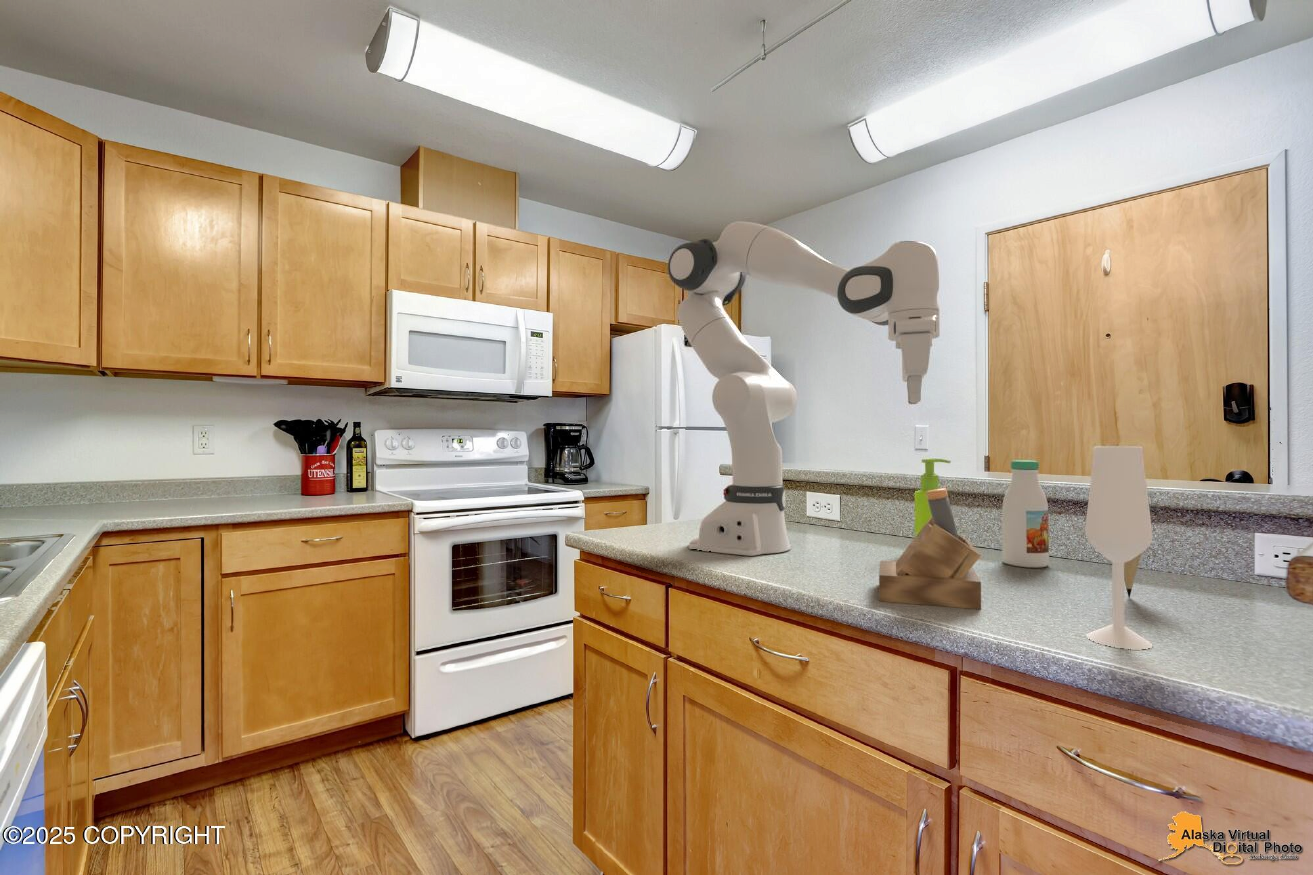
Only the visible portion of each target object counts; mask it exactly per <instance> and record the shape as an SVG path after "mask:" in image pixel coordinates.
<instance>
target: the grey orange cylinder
mask: <svg viewBox="0 0 1313 875" xmlns="http://www.w3.org/2000/svg"><path fill="white" fill-rule="evenodd" d="M925 493H926V497H927V500H928V503H929V507H930V511H931V515H932V519H933V523H934V524H936V525H938V526H939V527H941V528H942V529H944V530H945V531H946V532H948V533H949V534H951V535H952V536H954V537H955V538H957V539H958V540H959V537H958V535H959V534H958V530H957V526H956V522H955V518H954V514H953V511H952V506H951V503H950V498H949V494H948V489H947V488H946V487H942V488H939V489H934V490H930V491H927V492H925Z"/></svg>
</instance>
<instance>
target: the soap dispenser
mask: <svg viewBox="0 0 1313 875" xmlns="http://www.w3.org/2000/svg"><path fill="white" fill-rule="evenodd" d="M951 462H952V461H951V460H947V459H942V458H925V459H921V463H924V466H925V467H924V468H925V469H924V470H925V471H924V473H923V474H921V475H920V489H919V490H918V489H917V490H915V491H914V538H915V537H916V536H917V535H918V533H919V532H920V531H921V529H922V528H923V527H924V526H925V524H926V523H927V522H928V520H929V519H930V518H931V517H932V515H931V511H930V507H929V503H928V500H927V497H926V493H925V492H927V491H930V490H934V489H940V488H939V486H940V485H939V484H940V482H939V480H940V479H939V478H940V477H939V475H938V474H937V473H935V463H947V464H950V463H951Z"/></svg>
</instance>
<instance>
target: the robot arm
mask: <svg viewBox="0 0 1313 875" xmlns="http://www.w3.org/2000/svg"><path fill="white" fill-rule="evenodd" d="M667 272H668V276H669V278H670V280H671V281H672V283H673V284H674V285H675V286H676V287H678V288H679V289H680V288H681V290H683V291H687V292H688V293H687V297H685V298H684V299H683V300H682V301H681V302H680V304H679V306H678V308H677V313H676V314H677V320H678V322H679V325H680V326H681V329H682V331H683V334H684V335H685V338H686V339H687V341H688V342H689V344H690V346H691V348H692V349H693V350H694V351H695V353H696V354H697V356H698V358H699V359H700V361H701V362H702V364H703V365H704V367H705V368H706V370H707V372H708V373H709V374H711V375H712V376H713V377H715V378H716V379H717V380H718V381H717V382H716V383H715V385H714V387H713V390H712V393H711V394H712V396H711V399H712V400H711V401H712V405H713V408H714V409H715V411H716V413H718V415H719V416H720V418H721V419H722V422H723V423H724V426H725V428H726V433H727V435H728V439H729V444H730V449H731V464H732V465H731V466H732V468H731V469H732V471H731V472H732V483H731V484H728V485H727V486H726V487H725V488H724V489H723V492H722V493H723V499H724V501H723V502H722V503H721V504H719V505H718V506H717V507H716V508H714V509H713V510H712V511H711V512H709V513H708V514H707V515H706V516H704V517H703V519H702V521H701V523H700V526H699V533H698V537H696V538H693V539H692V540H691V541H690V542H688V543H689V544H688V549H690V550H691V549H697V550H696V551H699V550H702V551H701V552H709V551H711V552H710V553H718V554H719V553H721V554H729V555H731V554H732V555H739V556H740V555H741V556H749V557H750V556H752V557H753V556H759V555H764V554H765V555H766V554H767V555H768V554H777V553H783V552H786V551H790V550H791V543H790V540H789V536H788V532H787V526H786V519H785V509H786V489H785V487H786V486H785V485H784V483H783V478H784V477H783V450H782V447H781V445H780V444H779V443H778V441H777V439H776V436H775V434H774V430H773V425H772V423H776V422H780V421H782V420H784V419H786V418H789V416H791V415H792V413H794V411H795V409H796V407H797V406H798V405H797V404H798V393H797V391H796V388H795V387H794V386H793V384H792V383H791V382H789V381H788V380H787V379H785V378H784V377H783V376H782V375H780V374H779V372H777V370H776V369H775V368H774V367H773V366H771V364H770V363H768V361H767V360H766V359H765V358H764V357H763V356H761V355H760V354H759V353H758V352H757V351H756V350H755V348H754V347H753V346H752V345H750V343H749V341H747V339H746V338H745V337H744V335H743V334H742V332H740V330H739V328H738V327H737V325H736V324H735V323H734V322H733V320H732V318H731V317H730V316H729V314H728V313H727V312H726V310H725V308H724V306H727V305H729V304H730V303H732V301H733V299H734V298H735V297H736V296H737V295H738V294H739V293H740V291H741V290H742V288H743V287H744V284H745V282H746V278H747V276H749V277H752V278H755V279H757V280H760V281H762V282H763V281H764V282H766V283H770V284H774V285H775V284H776V285H781V286H789V287H795V288H801V289H808V290H812V291H813V290H814V291H818V292H819V293H824V294H826V295H828V296H831V297H834V298H836V299H837V301H838V305H840V307H841V308H842V309H843V310H844V311H845V312H847V313H849V314H850V315H853V316H855V317H858V318H861V319H864V320H867V321H869V322H871V323H873V324H875V325H876V326H877V325H878V326H887V327H888V329H887V330H888V336H887V337H888V338H887V339H888V340H889V341H892V342H895V348H896V349H897V350H901V357H902V358H901V365H902V366H901V367H902V368H901V369H902V371H901V372H902V377H901V378H902V381H903V382H905V383H906V388H907V389H906V390H907V403H908V405H918V403H919V402H921V398H922V383H923V379H924V377H925V376H926V375H927V373H928V370H929V365H930V364H929V363H930V354H931V347H932V346H933V339H937V338H939V337H940V333H941V332H940V307H939V304H938V293H939V291H940V272H939V263H938V256H937V253H936V250H935V248H933V246H932V245H930V244H927V243H925V242H923V241H917V240H901V241H898V242H895V243H893V244H891V245H890V246H889V248H888V249H887V250H886V251H884V252H883V254H881V255H880V256H878V257H876V258H874V259H873V260H872V261H869V262H867V263H865V264H862V265H860V266H857V267H856V266H855V267H853V268H852V269H851V268H850V269H847V268H844V267H841V266H839V265H837V264H835V263H833V262H830V261H829V260H826V259H825V258H823V257H822V256H820V255H819V254H818V253H816V252H815V251H814V250H812V249H811V248H810V247H808V246H807V245H805V244H804V243H802V242H800V241H799V240H798V239H796V238H794V237H793V236H792V235H789V234H787V233H785V232H784V231H781V230H779V229H777V228H774V227H771V226H768V225H765V224H761V223H757V222H752V221H751V222H750V221H742V220H741V221H739V220H738V221H733V222H732V223H729V224H728V225H727V226H726V227H724V229H723V231H722V232H721V234H720V236H719V239H717V240H716V241H715V242H712V241H711V240H710V239H709V238H703V239H699V240H696V241H689V242H685V243H682V244H680V245H679V246H677V247H676V248H675V249H673V251H672V252H671V254H670V256H669V259H668V262H667Z"/></svg>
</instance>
